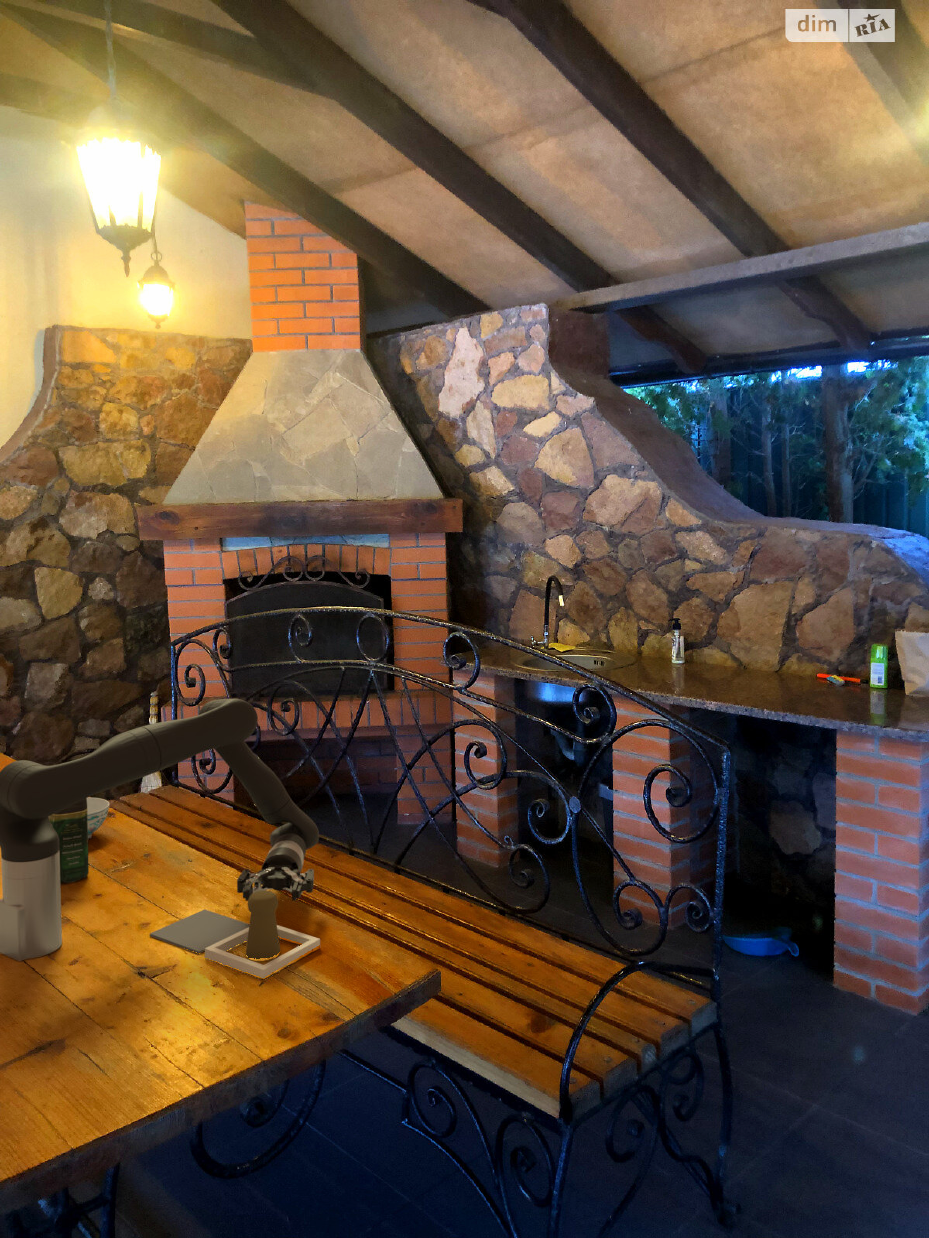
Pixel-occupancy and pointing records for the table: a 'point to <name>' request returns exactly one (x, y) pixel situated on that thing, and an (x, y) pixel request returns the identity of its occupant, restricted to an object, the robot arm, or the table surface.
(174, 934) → the mat
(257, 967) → the white square frame
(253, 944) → the cork
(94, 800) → the chinaware
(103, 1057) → the table surface
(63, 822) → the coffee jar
